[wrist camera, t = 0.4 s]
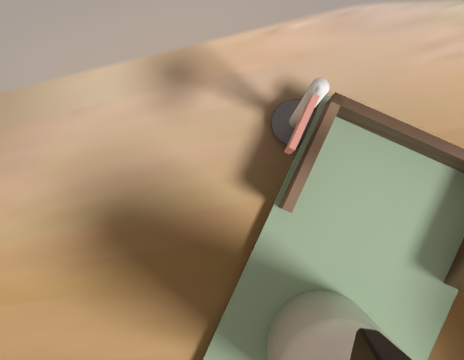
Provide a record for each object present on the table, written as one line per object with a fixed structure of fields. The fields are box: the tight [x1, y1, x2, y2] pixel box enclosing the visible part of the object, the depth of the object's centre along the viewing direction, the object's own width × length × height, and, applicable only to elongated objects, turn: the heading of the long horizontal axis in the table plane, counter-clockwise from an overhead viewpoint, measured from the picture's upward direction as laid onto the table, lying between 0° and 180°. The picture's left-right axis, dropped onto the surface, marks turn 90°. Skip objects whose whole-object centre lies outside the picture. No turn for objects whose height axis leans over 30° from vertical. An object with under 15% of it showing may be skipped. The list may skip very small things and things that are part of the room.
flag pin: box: [272, 78, 329, 155], centre depth 21 cm, size 4×3×9 cm, turn 155°
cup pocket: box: [279, 92, 464, 292], centre depth 24 cm, size 8×12×2 cm, turn 65°
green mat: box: [202, 95, 464, 360], centre depth 25 cm, size 21×13×1 cm, turn 155°
